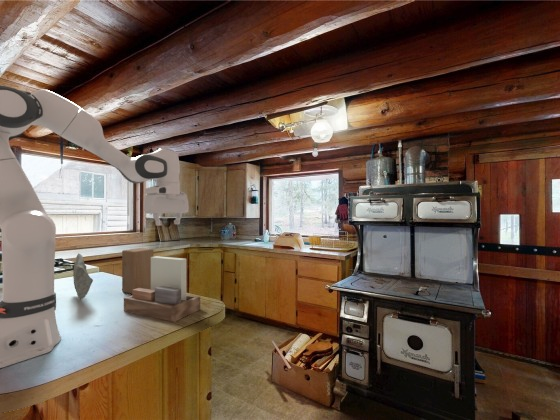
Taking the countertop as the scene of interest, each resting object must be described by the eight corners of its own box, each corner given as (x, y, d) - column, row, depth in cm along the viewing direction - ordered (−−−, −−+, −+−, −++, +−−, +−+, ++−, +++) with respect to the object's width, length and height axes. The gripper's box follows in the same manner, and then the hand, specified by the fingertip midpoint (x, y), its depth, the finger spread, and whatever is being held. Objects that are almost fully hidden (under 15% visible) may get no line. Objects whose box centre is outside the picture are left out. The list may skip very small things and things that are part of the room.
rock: (94, 305, 114) (94, 256, 114) (75, 309, 110) (75, 258, 110) (84, 291, 134) (84, 250, 134) (68, 294, 130) (67, 251, 130)
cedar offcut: (151, 313, 105) (150, 292, 105) (132, 310, 109) (132, 289, 109) (157, 311, 108) (157, 290, 108) (139, 307, 112) (139, 287, 112)
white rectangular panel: (180, 312, 107) (180, 259, 107) (150, 306, 114) (150, 257, 114) (186, 309, 110) (186, 258, 110) (156, 304, 116) (156, 256, 116)
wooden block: (121, 292, 134) (121, 250, 134) (140, 286, 143) (140, 247, 143) (135, 294, 129) (135, 251, 129) (153, 289, 138) (153, 249, 138)
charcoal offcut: (175, 318, 100) (175, 291, 101) (154, 314, 105) (154, 287, 105) (181, 315, 103) (181, 288, 103) (161, 312, 107) (161, 286, 107)
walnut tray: (174, 321, 98) (174, 307, 98) (123, 311, 108) (123, 298, 108) (200, 309, 110) (200, 296, 110) (152, 300, 121) (152, 289, 121)
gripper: (180, 192, 123) (181, 223, 123) (140, 189, 104) (141, 226, 104) (192, 191, 120) (192, 223, 120) (153, 188, 101) (153, 226, 101)
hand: (168, 224), depth 112 cm, fingers open, 8 cm apart
